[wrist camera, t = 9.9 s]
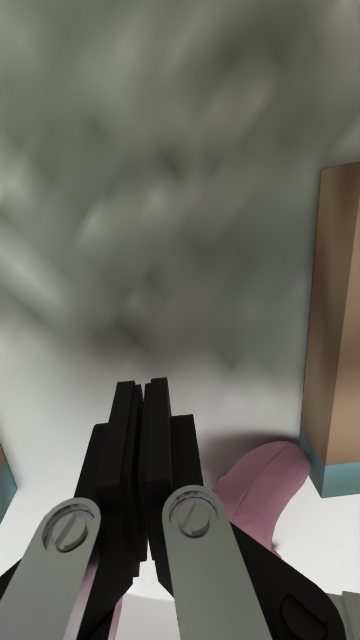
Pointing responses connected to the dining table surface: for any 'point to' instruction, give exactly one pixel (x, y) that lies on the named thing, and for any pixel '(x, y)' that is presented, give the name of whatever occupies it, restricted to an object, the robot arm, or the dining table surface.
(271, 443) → the video game controller
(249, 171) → the dining table surface
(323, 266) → the channel
